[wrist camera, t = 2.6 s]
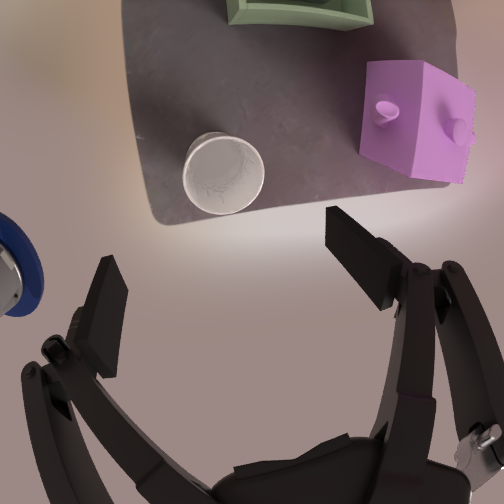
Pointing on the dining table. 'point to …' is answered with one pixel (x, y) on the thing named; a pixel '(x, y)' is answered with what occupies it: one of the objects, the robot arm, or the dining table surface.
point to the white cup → (222, 173)
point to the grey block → (314, 1)
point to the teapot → (417, 120)
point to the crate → (302, 13)
